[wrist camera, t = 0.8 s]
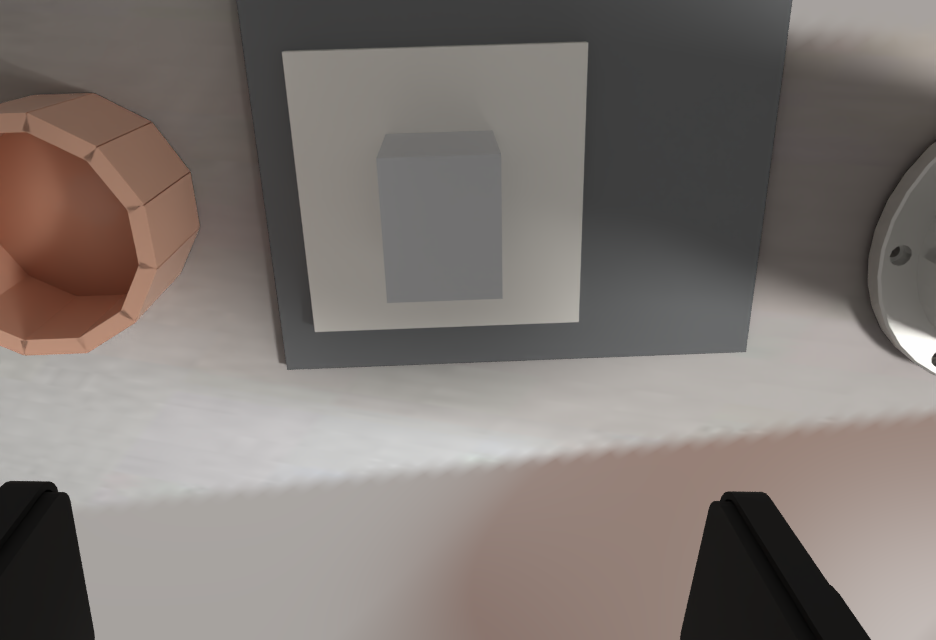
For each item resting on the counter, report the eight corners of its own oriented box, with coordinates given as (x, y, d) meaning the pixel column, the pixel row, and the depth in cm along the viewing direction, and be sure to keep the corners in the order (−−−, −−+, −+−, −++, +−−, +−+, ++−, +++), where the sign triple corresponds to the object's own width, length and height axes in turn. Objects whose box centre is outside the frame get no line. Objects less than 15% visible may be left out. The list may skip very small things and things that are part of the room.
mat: (790, -25, 28) (795, -25, 27) (742, 347, 34) (745, 351, 33) (238, -8, 27) (235, -8, 27) (288, 365, 33) (287, 369, 33)
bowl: (176, 90, 28) (125, 109, 24) (212, 298, 32) (173, 349, 27) (-51, 97, 28) (-146, 117, 24) (9, 305, 32) (-63, 358, 27)
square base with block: (585, 41, 28) (614, 51, 23) (576, 316, 32) (599, 371, 28) (284, 50, 28) (253, 62, 23) (317, 326, 32) (295, 383, 27)
